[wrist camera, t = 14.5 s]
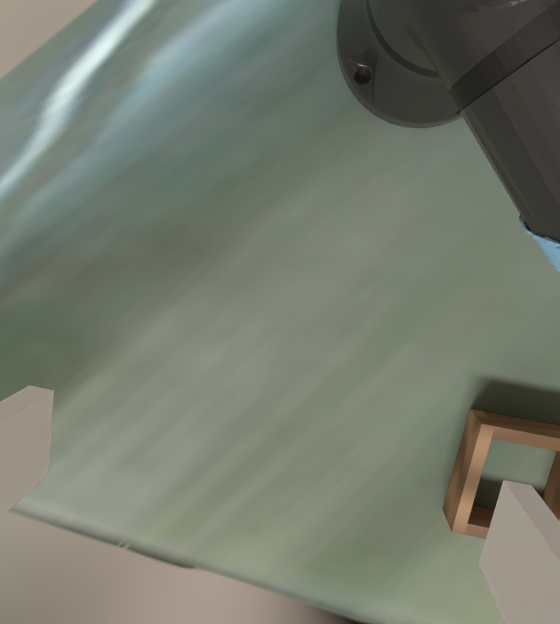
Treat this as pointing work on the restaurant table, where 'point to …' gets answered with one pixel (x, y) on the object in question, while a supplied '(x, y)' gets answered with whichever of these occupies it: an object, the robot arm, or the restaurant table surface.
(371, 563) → the restaurant table surface
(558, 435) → the brown open square frame
